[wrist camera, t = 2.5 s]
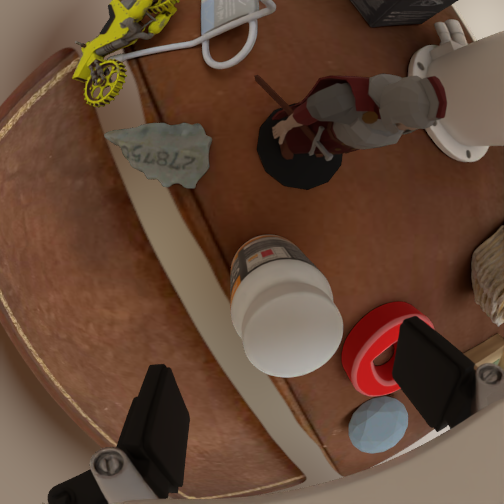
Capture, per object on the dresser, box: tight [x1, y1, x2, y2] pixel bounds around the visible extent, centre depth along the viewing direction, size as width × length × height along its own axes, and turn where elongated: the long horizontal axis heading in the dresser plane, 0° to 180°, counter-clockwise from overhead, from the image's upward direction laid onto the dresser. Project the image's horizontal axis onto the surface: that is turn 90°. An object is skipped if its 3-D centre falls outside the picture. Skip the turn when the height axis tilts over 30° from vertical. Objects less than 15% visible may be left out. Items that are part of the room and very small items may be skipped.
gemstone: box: [349, 396, 408, 453], centre depth 25 cm, size 8×8×5 cm
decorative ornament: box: [342, 302, 435, 396], centre depth 22 cm, size 10×10×3 cm
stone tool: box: [104, 123, 212, 188], centre depth 17 cm, size 9×2×5 cm
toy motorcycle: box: [72, 0, 179, 107], centre depth 13 cm, size 12×4×7 cm
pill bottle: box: [230, 235, 343, 377], centre depth 16 cm, size 6×6×10 cm
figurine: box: [255, 74, 447, 190], centre depth 11 cm, size 7×7×15 cm
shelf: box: [463, 333, 504, 371], centre depth 21 cm, size 12×10×14 cm
